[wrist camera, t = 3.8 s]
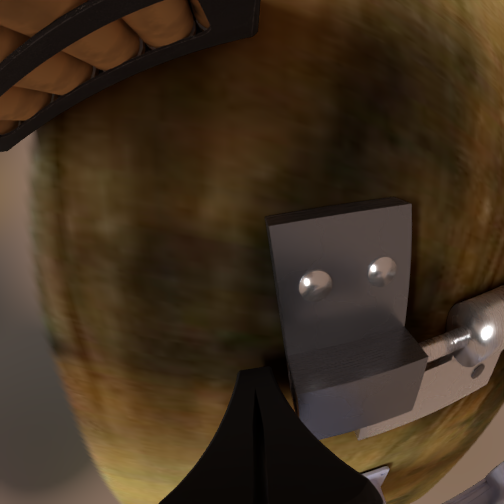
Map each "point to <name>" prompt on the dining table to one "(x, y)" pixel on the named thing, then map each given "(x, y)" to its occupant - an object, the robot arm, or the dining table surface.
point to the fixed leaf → (456, 358)
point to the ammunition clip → (98, 48)
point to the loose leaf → (346, 313)
